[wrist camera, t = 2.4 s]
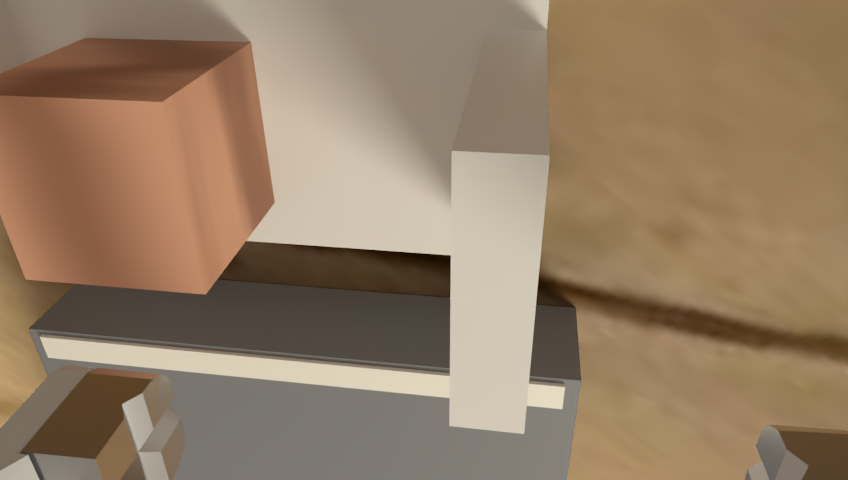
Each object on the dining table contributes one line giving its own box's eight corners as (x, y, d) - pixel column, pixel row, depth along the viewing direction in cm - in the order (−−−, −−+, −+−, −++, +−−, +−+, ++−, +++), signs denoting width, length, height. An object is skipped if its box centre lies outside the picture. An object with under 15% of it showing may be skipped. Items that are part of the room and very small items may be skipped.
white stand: (548, -33, 19) (555, 91, 9) (529, 209, 23) (520, 468, 14) (50, -37, 21) (-359, 59, 12) (113, 184, 25) (-150, 391, 16)
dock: (575, 308, 25) (581, 384, 21) (549, 511, 31) (550, 597, 27) (91, 269, 28) (25, 331, 24) (155, 463, 34) (110, 535, 30)
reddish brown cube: (251, 42, 18) (162, 101, 14) (274, 202, 21) (205, 294, 16) (85, 37, 19) (-48, 93, 15) (128, 193, 21) (25, 279, 17)
